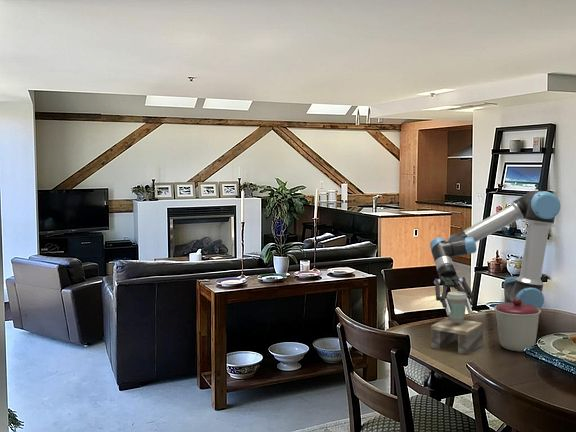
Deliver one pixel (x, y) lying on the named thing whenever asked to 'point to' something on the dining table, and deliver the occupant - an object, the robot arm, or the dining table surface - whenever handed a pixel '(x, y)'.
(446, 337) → the shelf
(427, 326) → the dining table surface
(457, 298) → the coffee cup
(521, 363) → the dining table surface
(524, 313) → the canister
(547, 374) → the dining table surface
